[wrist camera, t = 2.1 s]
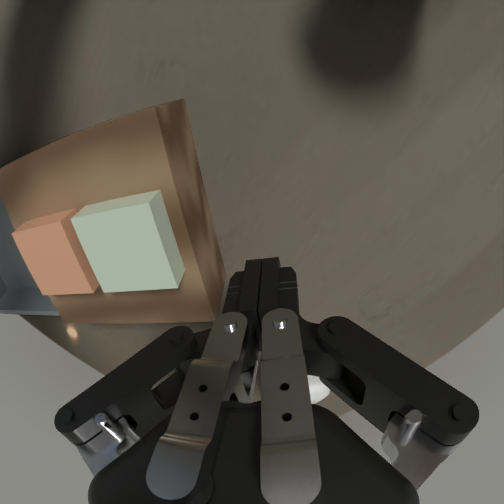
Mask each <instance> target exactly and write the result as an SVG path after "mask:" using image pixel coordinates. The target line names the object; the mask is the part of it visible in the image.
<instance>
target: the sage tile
mask: <svg viewBox="0 0 504 504" xmlns="http://www.w3.org/2000/svg"><path fill="white" fill-rule="evenodd" d="M71 222H72V224H73V227H74V229H75V231H76V234H77V236H78V238H79V241H80V243H81V245H82V248H83V250H84V252H85V254H86V257H87V259H88V261H89V263H90V265H91V267H92V269H93V272H94V274H95V276H96V278H97V280H98V282H99V284H100V286H101V288H102V290H103V292H104V293H106V292H125V291H142V290H158V289H173V288H178V287H179V284H180V282H181V280H182V277H183V275H184V272H185V268H184V265H183V262H182V259H181V255H180V252H179V249H178V246H177V243H176V240H175V237H174V234H173V231H172V227H171V224H170V221H169V218H168V214H167V211H166V208H165V204H164V201H163V197H162V194H161V191H160V190H157V191H151V192H146V193H141V194H136V195H132V196H127V197H122V198H117V199H113V200H108V201H104V202H99V203H95V204H91V205H87V206H84V207H83V208H82V209H81V210H80V211H79V212H78V213H77V214H75V215H74V216H73V217H72V218H71Z"/></svg>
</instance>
